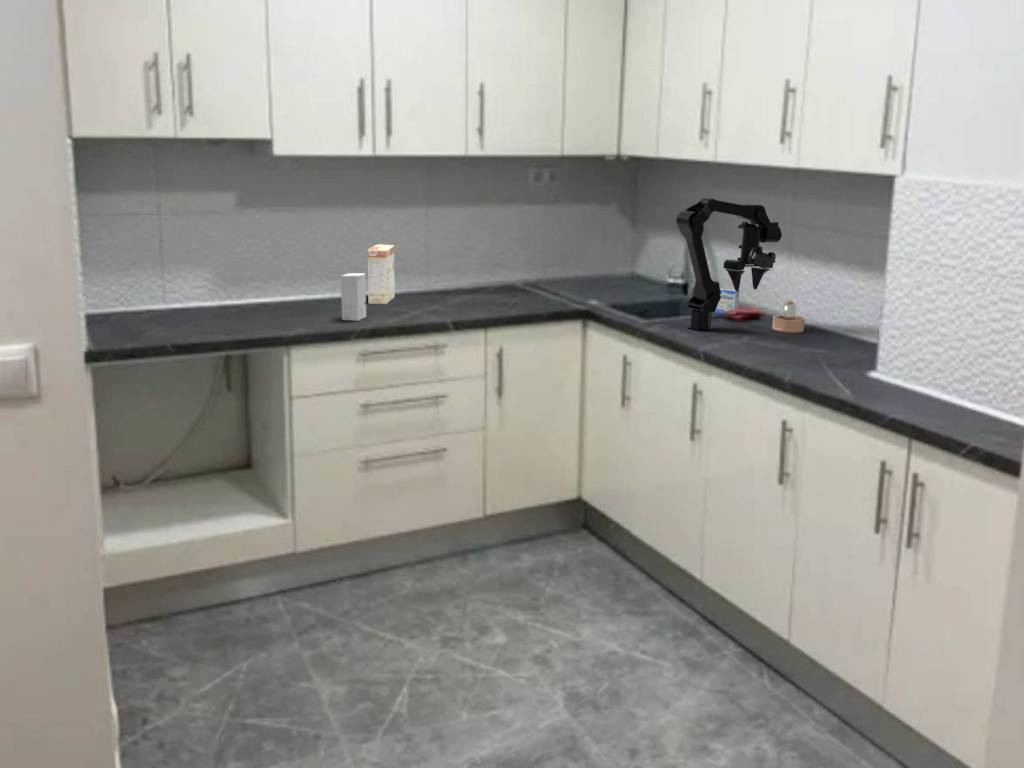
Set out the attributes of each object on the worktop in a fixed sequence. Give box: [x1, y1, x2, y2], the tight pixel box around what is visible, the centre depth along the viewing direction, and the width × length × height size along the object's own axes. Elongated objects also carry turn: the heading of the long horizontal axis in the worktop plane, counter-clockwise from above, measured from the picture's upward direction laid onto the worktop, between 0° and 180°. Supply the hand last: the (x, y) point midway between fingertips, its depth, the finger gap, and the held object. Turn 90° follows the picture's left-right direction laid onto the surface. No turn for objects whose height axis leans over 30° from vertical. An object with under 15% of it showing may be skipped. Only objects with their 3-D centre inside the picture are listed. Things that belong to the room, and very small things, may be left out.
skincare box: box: [340, 272, 367, 322], centre depth 342 cm, size 8×6×15 cm
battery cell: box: [782, 300, 797, 320], centre depth 341 cm, size 4×4×8 cm
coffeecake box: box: [367, 243, 396, 305], centre depth 376 cm, size 15×7×20 cm, turn 175°
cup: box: [771, 314, 806, 334], centre depth 342 cm, size 10×10×4 cm
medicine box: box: [712, 287, 740, 315], centre depth 368 cm, size 8×4×9 cm, turn 62°
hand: (746, 290), depth 345 cm, fingers open, 9 cm apart
